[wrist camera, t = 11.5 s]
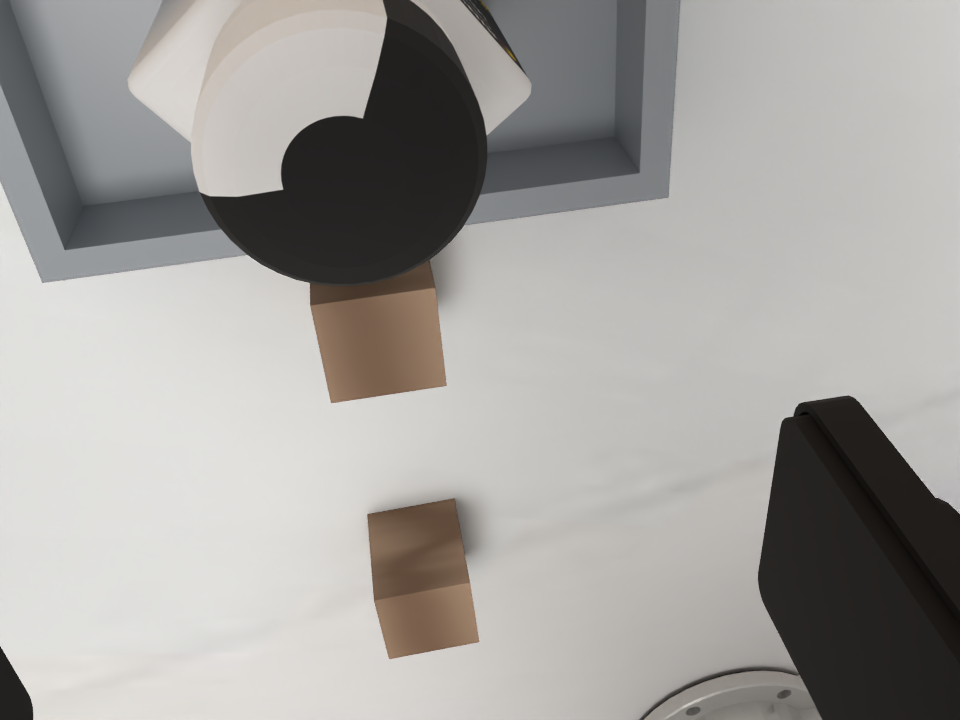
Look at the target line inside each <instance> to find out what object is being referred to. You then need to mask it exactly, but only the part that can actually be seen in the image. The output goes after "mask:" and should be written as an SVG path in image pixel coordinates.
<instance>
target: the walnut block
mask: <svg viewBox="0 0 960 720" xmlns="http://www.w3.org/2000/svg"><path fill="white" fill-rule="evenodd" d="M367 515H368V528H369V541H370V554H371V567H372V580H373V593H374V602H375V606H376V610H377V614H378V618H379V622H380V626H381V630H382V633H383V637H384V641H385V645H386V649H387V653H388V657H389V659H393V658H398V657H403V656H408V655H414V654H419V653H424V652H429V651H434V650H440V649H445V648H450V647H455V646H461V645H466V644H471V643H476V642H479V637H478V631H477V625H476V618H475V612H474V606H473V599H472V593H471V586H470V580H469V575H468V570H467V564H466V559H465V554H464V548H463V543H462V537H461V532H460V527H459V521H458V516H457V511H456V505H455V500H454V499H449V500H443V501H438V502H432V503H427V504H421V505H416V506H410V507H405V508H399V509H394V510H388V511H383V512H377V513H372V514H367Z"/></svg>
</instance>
